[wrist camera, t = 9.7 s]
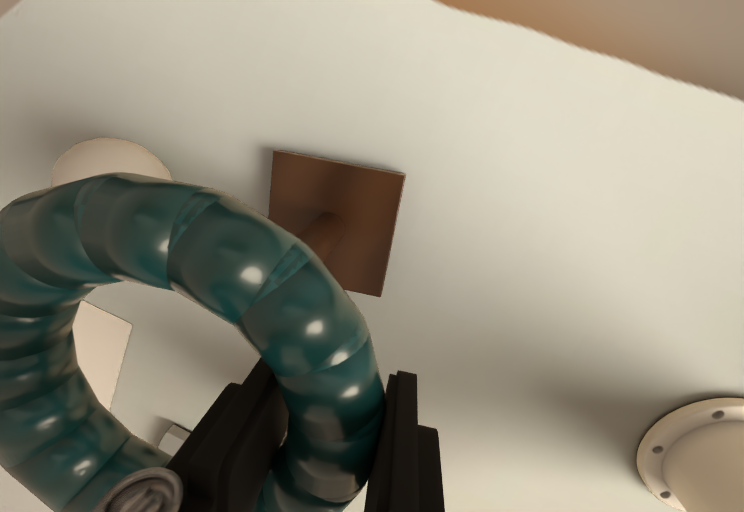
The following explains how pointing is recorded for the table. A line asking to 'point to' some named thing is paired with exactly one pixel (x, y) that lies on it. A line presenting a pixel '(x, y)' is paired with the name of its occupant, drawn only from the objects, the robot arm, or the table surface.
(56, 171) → the beige ovoid
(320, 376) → the ring
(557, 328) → the table surface
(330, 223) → the post
